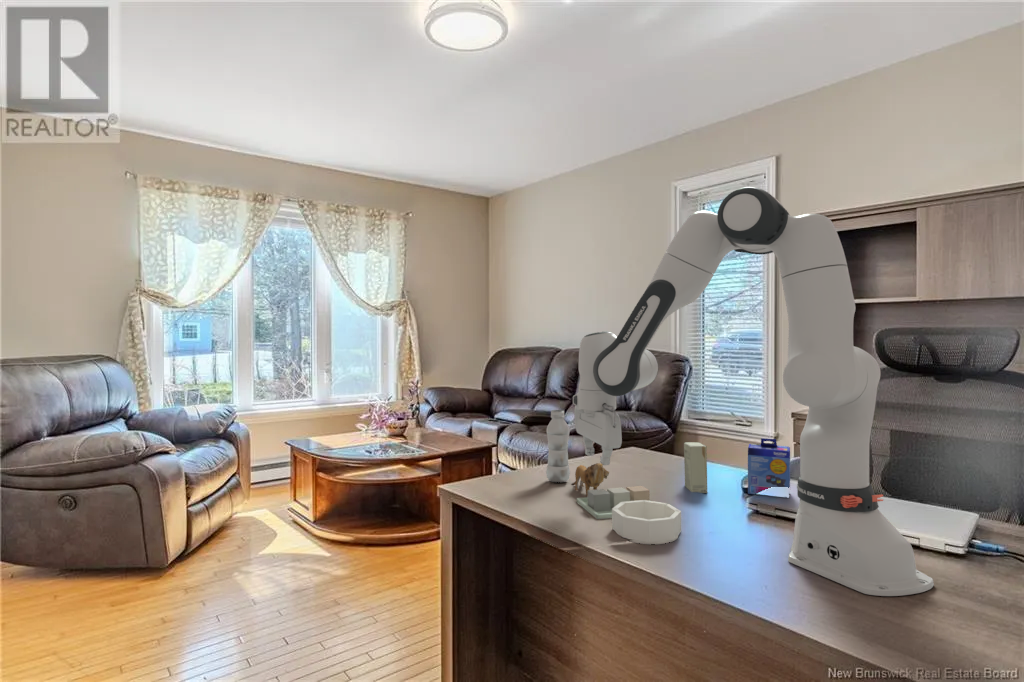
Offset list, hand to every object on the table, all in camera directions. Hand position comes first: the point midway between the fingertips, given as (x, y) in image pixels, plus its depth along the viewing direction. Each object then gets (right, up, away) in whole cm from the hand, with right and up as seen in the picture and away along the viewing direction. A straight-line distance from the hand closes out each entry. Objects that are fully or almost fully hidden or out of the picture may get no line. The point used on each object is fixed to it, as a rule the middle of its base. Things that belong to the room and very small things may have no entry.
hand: (597, 459), depth 133 cm
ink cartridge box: (+46, -12, +12) cm, 49 cm away
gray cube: (0, -12, 0) cm, 12 cm away
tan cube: (+10, -11, +2) cm, 15 cm away
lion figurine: (0, -12, +14) cm, 19 cm away
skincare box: (+28, -12, +16) cm, 35 cm away
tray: (+5, -12, +1) cm, 13 cm away
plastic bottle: (-7, -12, +26) cm, 29 cm away
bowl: (+8, -12, -15) cm, 21 cm away
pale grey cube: (+5, -11, +1) cm, 13 cm away
